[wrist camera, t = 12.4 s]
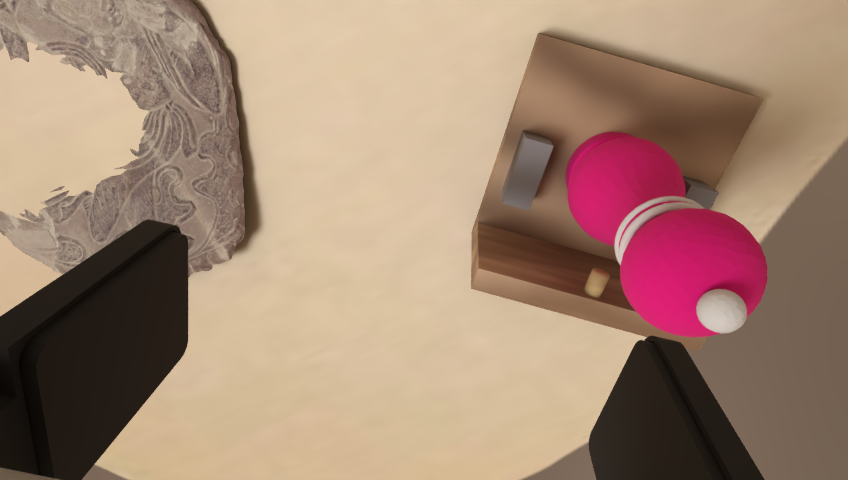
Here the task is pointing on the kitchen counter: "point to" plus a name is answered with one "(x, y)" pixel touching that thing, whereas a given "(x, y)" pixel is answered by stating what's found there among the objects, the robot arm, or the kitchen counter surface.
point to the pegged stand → (546, 167)
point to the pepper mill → (664, 238)
